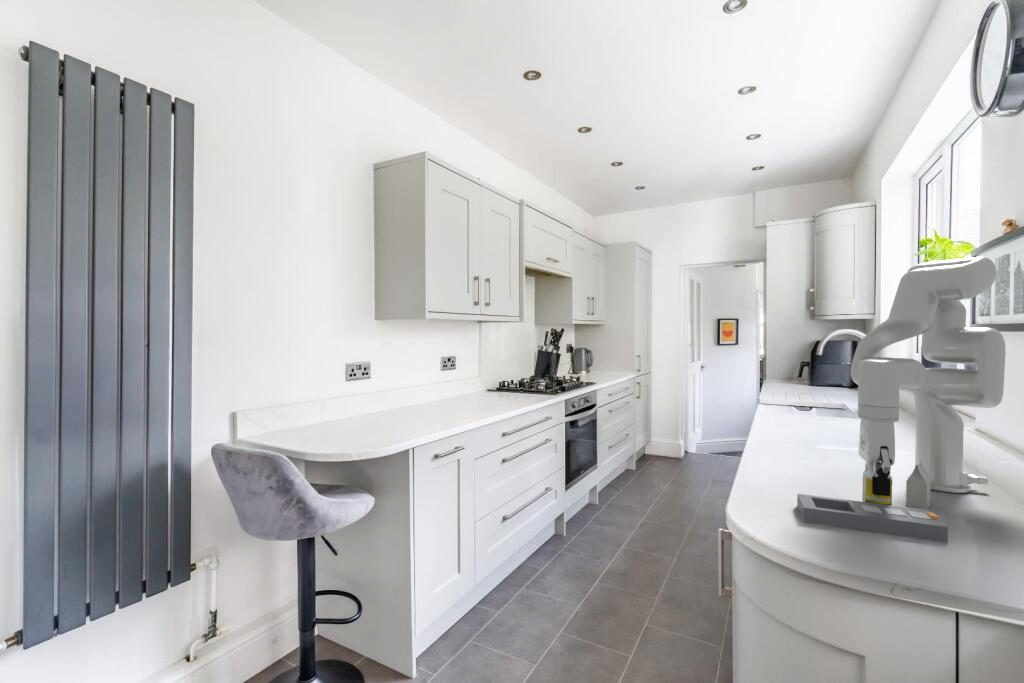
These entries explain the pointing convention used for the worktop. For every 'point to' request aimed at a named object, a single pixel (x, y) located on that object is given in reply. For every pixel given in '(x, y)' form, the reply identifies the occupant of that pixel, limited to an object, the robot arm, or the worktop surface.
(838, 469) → the worktop surface
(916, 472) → the white gable-top box
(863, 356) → the robot arm
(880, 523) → the power strip
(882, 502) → the supplement bottle
